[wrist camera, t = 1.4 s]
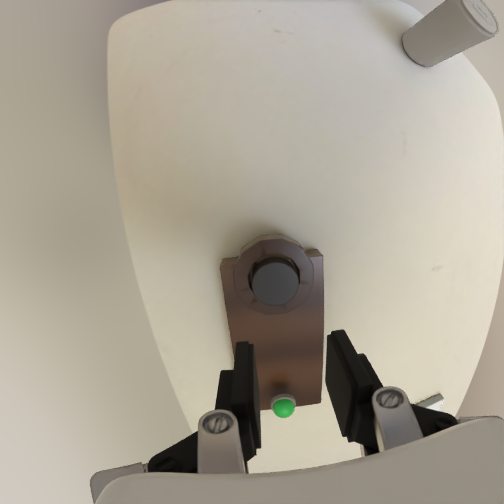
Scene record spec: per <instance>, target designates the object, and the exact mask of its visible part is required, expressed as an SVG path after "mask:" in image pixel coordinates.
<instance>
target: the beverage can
mask: <svg viewBox="0 0 504 504" xmlns="http://www.w3.org/2000/svg"><path fill="white" fill-rule="evenodd" d="M498 32H499V25H498V22H497V20H496V18H495V16H494V14H493V12H492V11H491V10H490V8H489V7H488V6H487V5H486V3H485V2H484V1H483V0H445V1H444V2H443V3H442V4H440V5H439V6H438V7H437V8H435V9H434V10H433V11H432V12H430V13H429V14H428V15H426V16H425V17H424V18H423V19H421V20H420V21H419V22H418V23H416V24H415V25H414V26H413V27H411V28H410V29H409V30H408V31H407V32H405V33H404V35H403V38H402V42H403V46H404V49H405V51H406V52H407V54H408V55H409V56H410V58H411V59H412V60H414V61H415V62H417V63H418V64H420V65H424V66H427V67H431V66H434V65H436V64H438V63H440V62H442V61H444V60H446V59H448V58H450V57H452V56H454V55H456V54H458V53H460V52H462V51H464V50H466V49H468V48H470V47H472V46H475V45H477V44H479V43H481V42H483V41H486V40H488V39H490V38H492V37H494V36H495V34H497V33H498Z"/></svg>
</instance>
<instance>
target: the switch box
mask: <svg viewBox="0 0 504 504" xmlns="http://www.w3.org/2000/svg"><path fill="white" fill-rule="evenodd" d="M273 256H276V257H281V258H284V259H286V260H287V261H289V262H290V263H291V264H292V266H293V267H294V269H295V272H296V274H297V276H298V280H299V286H298V290H297V293H296V294H295V296H294V297H293V298H292V299H291V300H290V301H289V302H287V303H285V304H283V305H279V306H270V305H266V304H264V303H262V302H261V301H259V300H258V299H257V298H256V296H255V295H254V293H253V290H252V273H253V270H254V268H255V266H256V265H257V264H258V263H259V262H260V261H261V260H263V259H265V258H268V257H273ZM220 271H221V278H222V285H223V292H224V298H225V305H226V311H227V317H228V324H229V330H230V336H231V342H232V348H233V354H234V360H235V350H236V342H240V341H249V344H254V351H255V359H256V367H257V375H258V382H259V392H260V410H269V409H271V400H272V399H273V398H274V397H275V396H277V395H279V394H289V395H292V396H293V397H294V398H295V401H296V406H295V407H297V406H305V405H312V404H318V403H321V391H322V371H323V340H324V277H323V255H322V254H321V253H320V252H319V251H318V250H307V251H304V250H303V248H302V247H301V246H300V244H299V243H298V242H296V241H294V240H292V239H290V238H287V237H285V236H283V235H281V234H276V235H266V236H259V237H257V238H256V239H254V240H253V241H252V242H250V243H249V244H247V245H246V246H245V247H243V248H242V250H241V252H240V254H239V256H238V257H237V258H226V259H222V262H221V264H220Z"/></svg>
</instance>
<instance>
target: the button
mask: <svg viewBox="0 0 504 504" xmlns="http://www.w3.org/2000/svg"><path fill="white" fill-rule="evenodd" d="M298 286H299V280H298V276H297V274H296V272H295V269H294V267H293V266H292V264H291V263H290V262H289V261H287V260H286V259H284V258H281V257H276V256H273V257H268V258H265V259H263V260H261V261H260V262H259V263H258V264H257V265H256V266H255V268H254V270H253V273H252V290H253V293H254V295H255V296H256V298H257V299H258V300H259V301H261V302H262V303H264V304H266V305H270V306H279V305H283V304H285V303H287V302H289V301H290V300H291V299H292V298H293V297H294V296H295V294H296V293H297V290H298Z"/></svg>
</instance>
